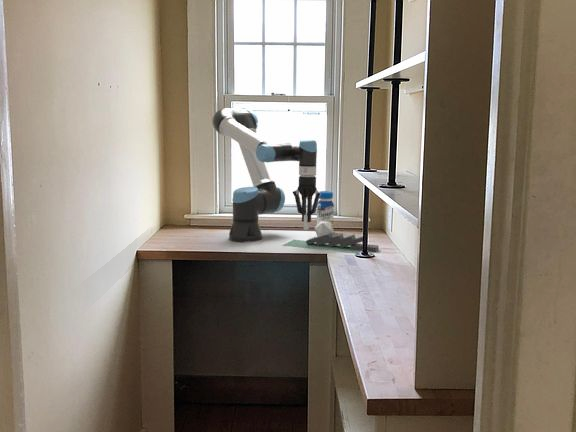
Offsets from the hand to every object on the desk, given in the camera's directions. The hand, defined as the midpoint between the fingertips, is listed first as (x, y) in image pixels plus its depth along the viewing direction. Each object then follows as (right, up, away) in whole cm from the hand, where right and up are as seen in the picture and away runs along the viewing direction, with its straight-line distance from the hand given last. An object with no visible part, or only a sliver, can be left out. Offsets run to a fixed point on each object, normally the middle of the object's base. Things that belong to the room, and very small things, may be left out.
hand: (306, 229), depth 262 cm
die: (+9, -5, +15) cm, 18 cm away
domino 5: (+19, -7, -7) cm, 22 cm away
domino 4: (+15, -7, -5) cm, 17 cm away
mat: (+8, -8, -3) cm, 11 cm away
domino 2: (+5, -6, -1) cm, 8 cm away
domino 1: (+1, -6, +1) cm, 6 cm away
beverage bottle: (+10, -2, +29) cm, 30 cm away
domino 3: (+10, -6, -3) cm, 13 cm away
